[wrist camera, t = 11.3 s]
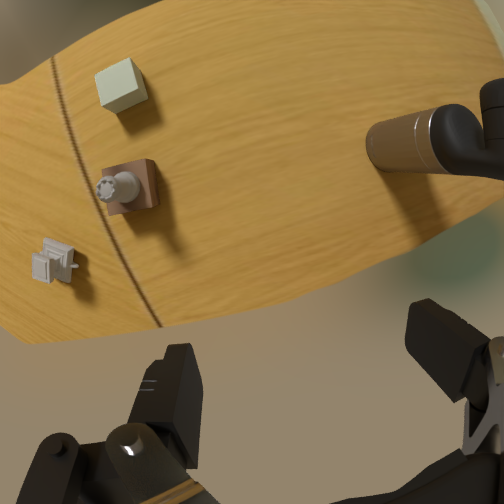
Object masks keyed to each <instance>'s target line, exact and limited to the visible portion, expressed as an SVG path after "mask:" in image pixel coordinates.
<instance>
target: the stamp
mask: <svg viewBox="0 0 504 504" xmlns="http://www.w3.org/2000/svg"><path fill="white" fill-rule="evenodd" d="M73 255H74V247H72V246H69V245H66V244H64V243H61V242H58V241H55V240H53V239H50V238H47V237H46V238H44V241H43V251H41V252H40V254H39V253H32V278H34V279H37V280H40V281H43V282H46V283H49V284H50V283H51V282H53V280H54V278H56V279H59V280H61V281H64V282H66V283H71V275H72V268H78V267H79V265H78V264H77V263H75V262H73Z"/></svg>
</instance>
